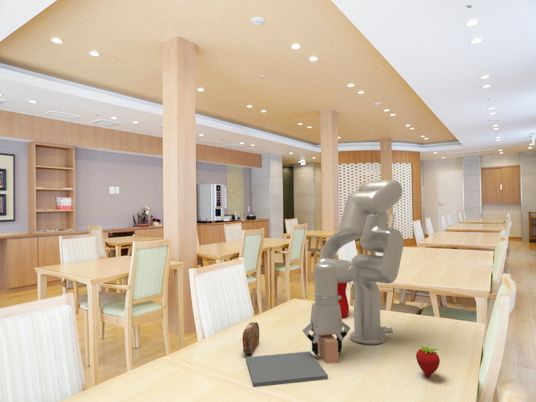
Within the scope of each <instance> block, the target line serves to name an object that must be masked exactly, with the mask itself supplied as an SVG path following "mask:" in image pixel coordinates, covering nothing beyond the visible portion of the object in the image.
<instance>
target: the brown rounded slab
mask: <svg viewBox="0 0 536 402" xmlns="http://www.w3.org/2000/svg"><path fill="white" fill-rule="evenodd" d="M241 339H242V340H241V341H242V349H243V353H244V354H245V355H254V353H255V351H256V349H257V348H258V346H259V343H260V326H259V323H258V322H257V321H255V322H254V321H252V322H249V323H248V324H247V325H246V327H245V329H244V330H243V332H242V337H241Z"/></svg>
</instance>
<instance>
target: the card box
mask: <svg viewBox="0 0 536 402" xmlns="http://www.w3.org/2000/svg"><path fill="white" fill-rule="evenodd" d="M317 343H318V355H319V356H320V357H321V358H322V360H323V361H324V363H326V364H333V363H334V364H335V363H336V364H337V363H339V353H338V341H337V340H336V337H334V335H322V336H319V338H318V340H317Z"/></svg>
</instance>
